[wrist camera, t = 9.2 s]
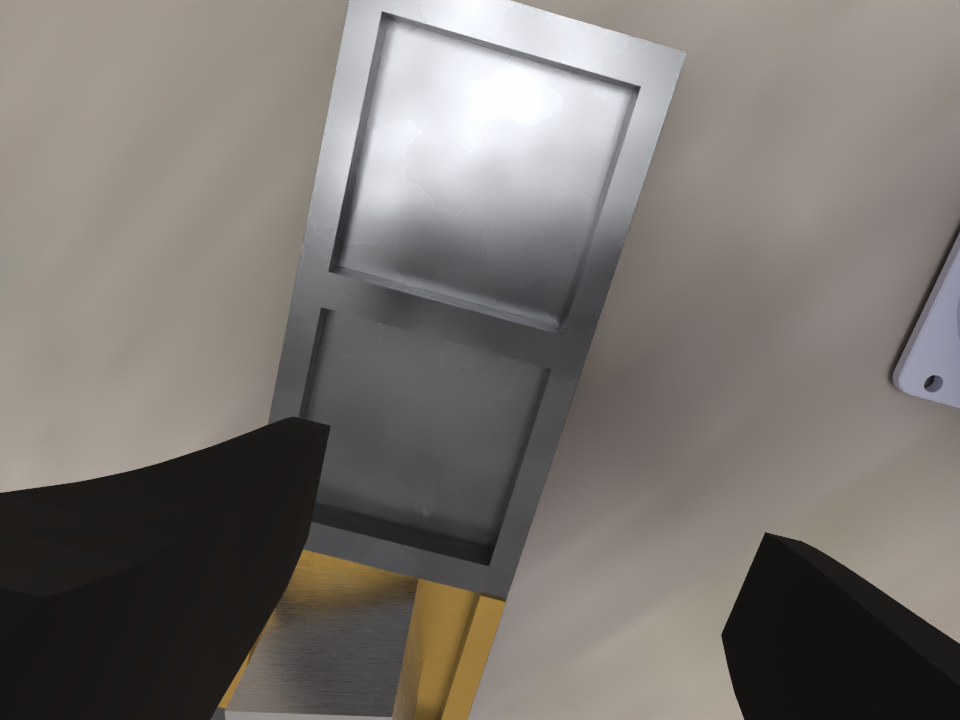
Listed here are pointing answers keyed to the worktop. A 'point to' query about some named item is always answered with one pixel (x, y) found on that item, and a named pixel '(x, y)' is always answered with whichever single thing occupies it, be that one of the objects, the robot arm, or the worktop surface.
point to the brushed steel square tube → (336, 650)
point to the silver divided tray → (458, 292)
